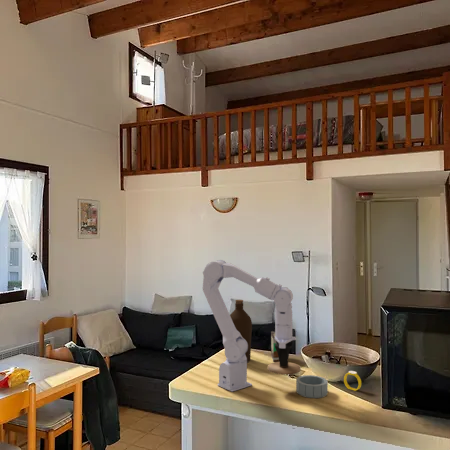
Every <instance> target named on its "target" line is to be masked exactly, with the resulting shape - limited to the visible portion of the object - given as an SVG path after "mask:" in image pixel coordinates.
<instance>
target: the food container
mask: <svg viewBox="0 0 450 450" xmlns="http://www.w3.org/2000/svg"><path fill="white" fill-rule="evenodd" d="M275 344H276V340H275V331H270V348H271V349H270V350H271V351H270V353H271V354H270V355H271V359H272V363H274V362H279V357H278V353H277V351H276V349H275Z"/></svg>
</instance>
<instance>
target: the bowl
mask: <svg viewBox="0 0 450 450" xmlns="http://www.w3.org/2000/svg"><path fill="white" fill-rule="evenodd" d="M295 382H296V383H295V384H296V385H295V386H296V387H295V391H296V393H297V394H298V395H300V396H301V397H304V398H308V399H309V398H310V399H322V398H325V397H327V395H328V391H329V389H328V384H329V383H328V380H327V379H326V378H325V377H322V376H319V375H312V374H311V375H310V374H309V375H305V374H304V375H300V376H297V378H296V380H295Z"/></svg>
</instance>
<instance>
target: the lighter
mask: <svg viewBox="0 0 450 450" xmlns="http://www.w3.org/2000/svg"><path fill="white" fill-rule="evenodd" d="M321 359H322V362H323V361H325V362H330V360H329V359H330V358H329V355H328V354H325V355H322V356H321Z"/></svg>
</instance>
